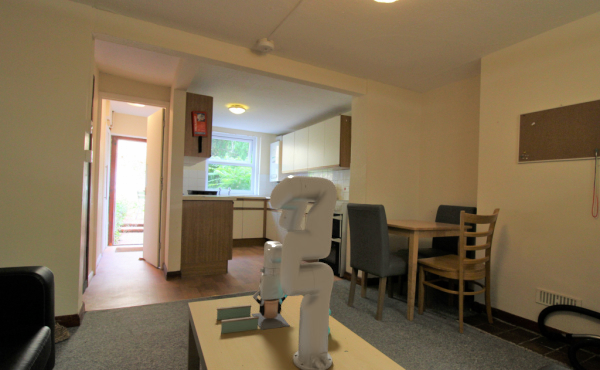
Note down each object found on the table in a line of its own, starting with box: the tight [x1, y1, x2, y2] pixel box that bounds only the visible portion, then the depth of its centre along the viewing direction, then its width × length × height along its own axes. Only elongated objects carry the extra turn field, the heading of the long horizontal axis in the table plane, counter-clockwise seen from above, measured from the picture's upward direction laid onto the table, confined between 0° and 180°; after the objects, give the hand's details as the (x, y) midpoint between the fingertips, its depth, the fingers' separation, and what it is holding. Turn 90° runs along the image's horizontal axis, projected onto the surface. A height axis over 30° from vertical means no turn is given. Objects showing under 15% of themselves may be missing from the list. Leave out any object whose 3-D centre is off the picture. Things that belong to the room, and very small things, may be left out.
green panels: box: [216, 304, 259, 334], centre depth 126 cm, size 14×14×5 cm
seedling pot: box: [263, 299, 279, 318], centre depth 132 cm, size 7×7×7 cm
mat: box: [251, 312, 290, 331], centre depth 131 cm, size 16×12×1 cm
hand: (270, 313), depth 132 cm, fingers closed on seedling pot, 6 cm apart
